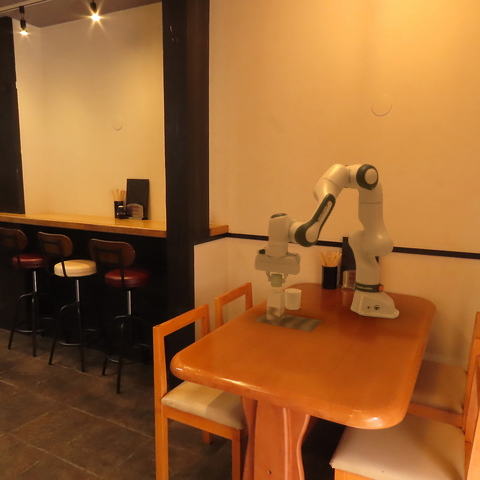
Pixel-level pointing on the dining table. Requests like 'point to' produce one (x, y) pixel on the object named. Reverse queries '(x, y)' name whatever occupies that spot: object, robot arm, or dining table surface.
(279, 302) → the tower top block
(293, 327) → the walnut board
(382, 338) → the dining table surface
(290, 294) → the white cup
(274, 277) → the green cylinder
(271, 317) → the tower base block
